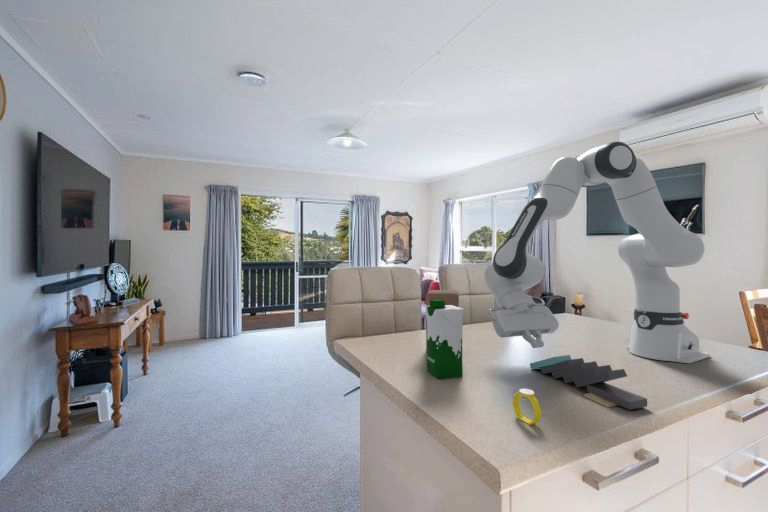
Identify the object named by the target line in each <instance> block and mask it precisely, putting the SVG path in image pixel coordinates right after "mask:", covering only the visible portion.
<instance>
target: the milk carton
mask: <svg viewBox="0 0 768 512" xmlns="http://www.w3.org/2000/svg"><path fill="white" fill-rule="evenodd" d="M425 313H426V314H425V317H426V316H427V353H426V371H427V372H428V374H431V376H433V377H434V378H436V379H437V380H445V379H455V378H456V379H457V378H463V375H464V374H463V320H464V313H465V308H463V307H456V306H453V305H445V300H444V299H430V306H426V305H425Z"/></svg>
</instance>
